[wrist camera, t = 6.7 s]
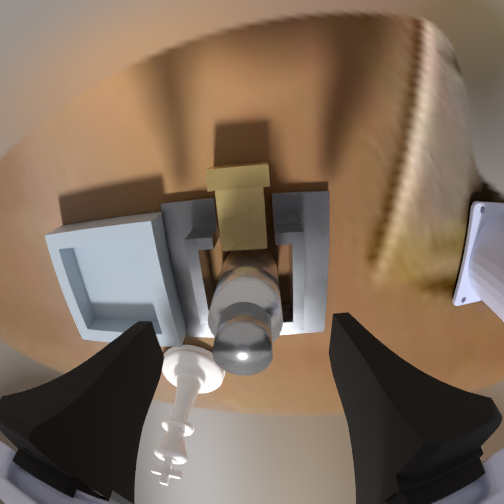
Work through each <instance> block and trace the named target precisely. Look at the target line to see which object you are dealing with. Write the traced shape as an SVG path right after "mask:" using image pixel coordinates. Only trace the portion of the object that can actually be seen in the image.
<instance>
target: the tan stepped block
mask: <svg viewBox="0 0 504 504" xmlns="http://www.w3.org/2000/svg"><path fill="white" fill-rule="evenodd" d="M205 173H206V182H207V191H208V192H209V191H215V197H216V206H217V214H218V223H219V231H220V239H221V247H222V251H236V250H252V249H267V232H266V217H265V203H264V188H263V187H270V179H269V165H268V162H253V163H240V164H229V165H219V166H213V167H210V168H208V169H206V170H205Z"/></svg>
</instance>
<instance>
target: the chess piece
mask: <svg viewBox="0 0 504 504" xmlns="http://www.w3.org/2000/svg"><path fill="white" fill-rule="evenodd" d="M162 372H163V374H164V376H165V377H166V378H167V380H168V381H169V382H170V383H172V384H173V385H174V386H176V387H177V389H176V397H175V404H174V411H173V417H165V418H163V419H162V426H163V428H164V429H165V430H166V431H168V432H167V433H166V435H165V436H164V437H163V439H162V440H161V442H160V443H159V444H158V445H157V446H156V447H155V449H154V453H155V455H156V456H157V457H158V458H160V459H161V460H163V461H164V465H163V467H159V466H155V465H152V468H151V472H152V473H154V474H158V475H161V476H160V480H159V482H160V484H163V485H167V486H168V484H169V479H170V477H172V478H177V479H181V476H182V472H181V471H178V470H173V469H172V467H173V464H182V463H185V462H186V461H187V453H186V449H185V440H184V436H189V435H191V434H192V433H193V432H194V426H193V425H192V424H191V423H190V422H188V421H187V419H188V417H189V414H190V411H191V409H192V406H193V404H194V401H195V399H196V397H197V394H198V393H207V392H211V391H214V390H216V389H217V388H218V387H219V386H220V385H221V384H222V382H223V379H224V376H225V370H223V369H222V368H220V367H219V366H218V365H217V364H216V362H215V361H214V359H213V356H212V352H210V351H208V350H206V349H204V348H201V347H198V346H194V345H182V347H172V348H170V349H168V350H167V351H166V352H165V353H164V362H163V367H162Z"/></svg>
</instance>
